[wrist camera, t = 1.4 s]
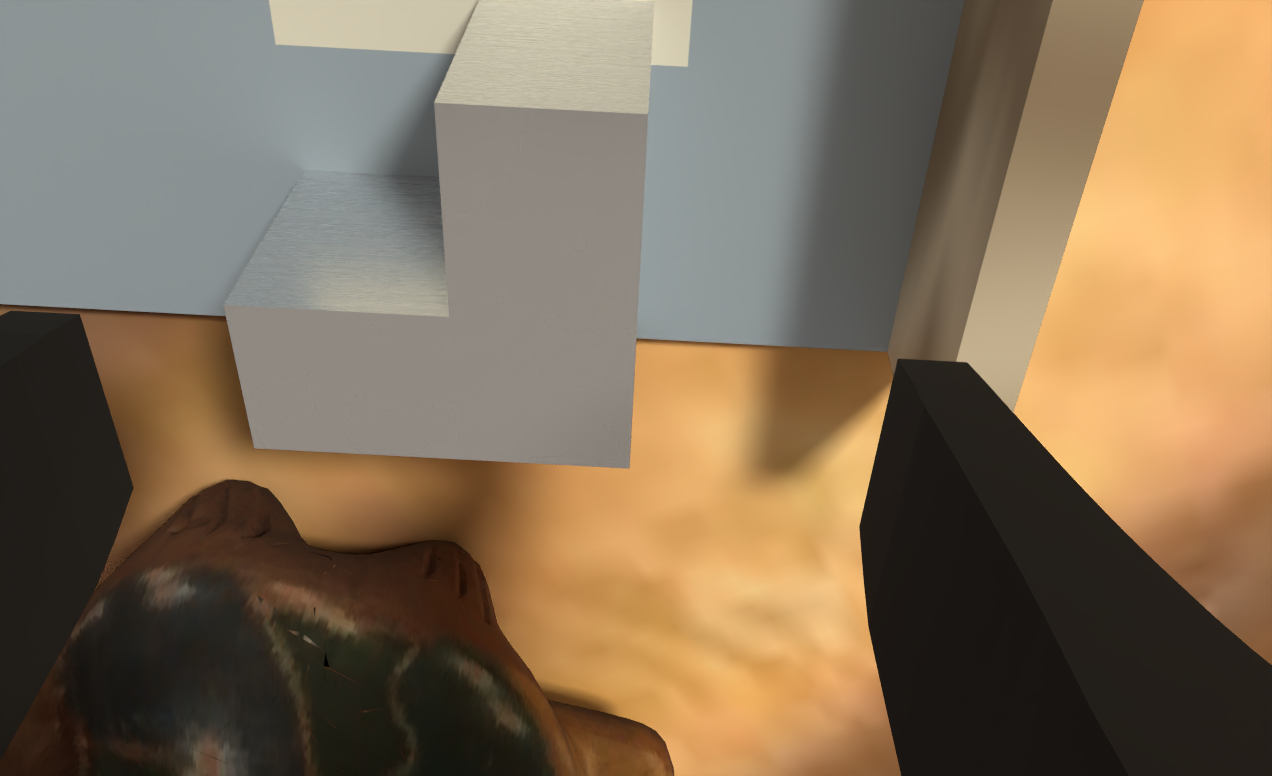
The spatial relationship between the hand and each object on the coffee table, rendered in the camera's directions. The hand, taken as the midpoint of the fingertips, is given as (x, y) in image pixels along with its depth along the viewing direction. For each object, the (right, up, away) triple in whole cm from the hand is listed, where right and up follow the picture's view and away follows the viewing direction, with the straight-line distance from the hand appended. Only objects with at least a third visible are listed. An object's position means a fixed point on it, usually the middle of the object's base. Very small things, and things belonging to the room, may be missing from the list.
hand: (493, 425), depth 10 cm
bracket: (-1, +4, +8) cm, 9 cm away
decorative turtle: (-5, -4, +15) cm, 16 cm away
